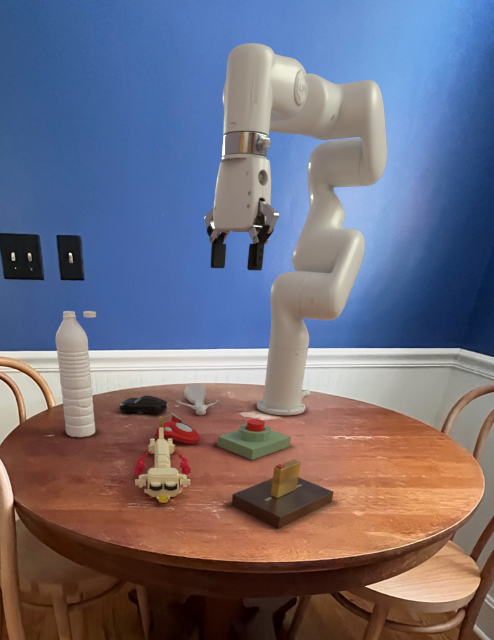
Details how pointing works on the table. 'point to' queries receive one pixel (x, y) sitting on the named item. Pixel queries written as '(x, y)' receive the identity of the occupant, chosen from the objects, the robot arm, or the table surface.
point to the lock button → (255, 425)
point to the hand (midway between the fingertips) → (235, 269)
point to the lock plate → (282, 502)
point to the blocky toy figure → (162, 469)
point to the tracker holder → (179, 431)
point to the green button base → (253, 442)
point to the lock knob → (285, 478)
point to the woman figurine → (196, 398)
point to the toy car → (143, 405)
